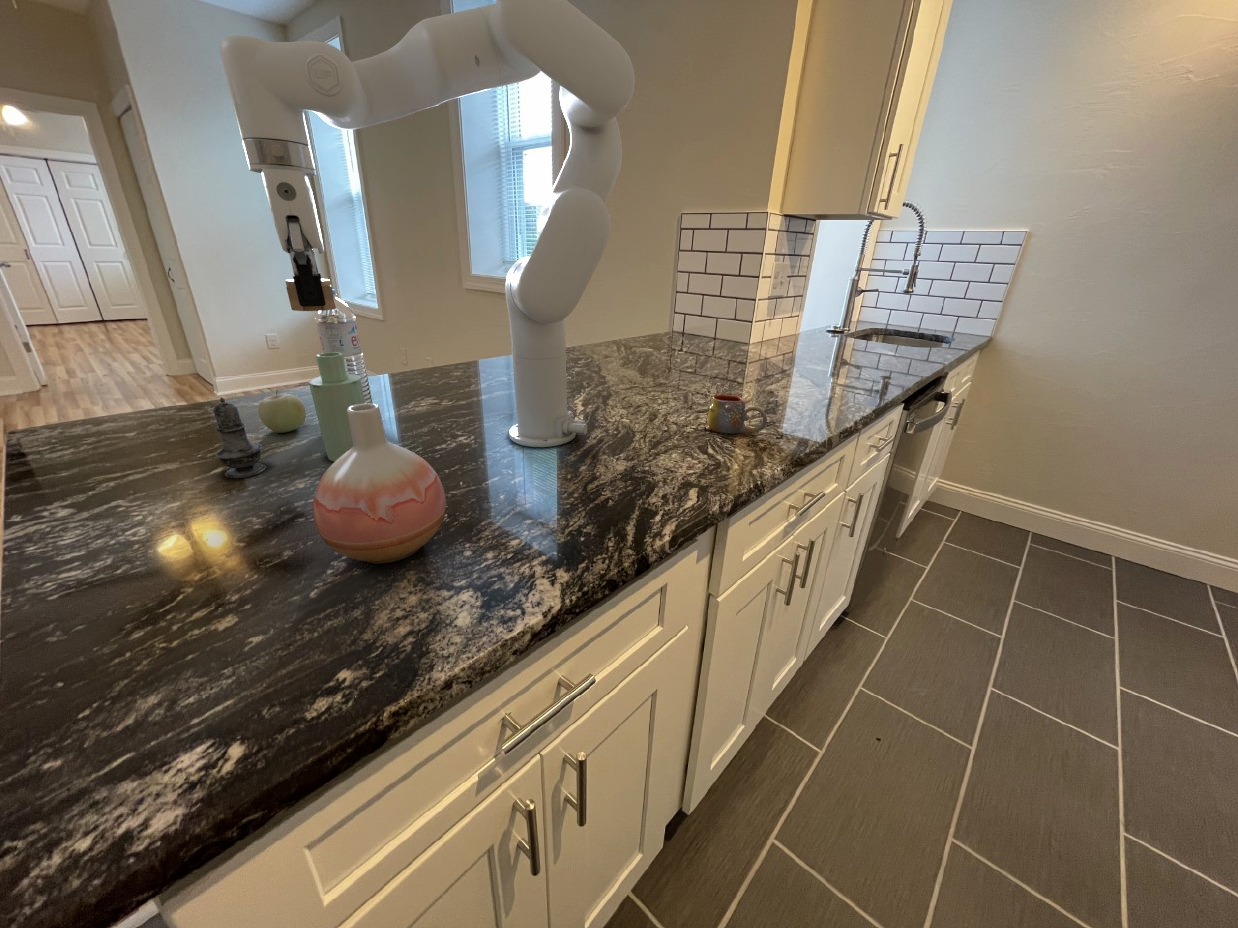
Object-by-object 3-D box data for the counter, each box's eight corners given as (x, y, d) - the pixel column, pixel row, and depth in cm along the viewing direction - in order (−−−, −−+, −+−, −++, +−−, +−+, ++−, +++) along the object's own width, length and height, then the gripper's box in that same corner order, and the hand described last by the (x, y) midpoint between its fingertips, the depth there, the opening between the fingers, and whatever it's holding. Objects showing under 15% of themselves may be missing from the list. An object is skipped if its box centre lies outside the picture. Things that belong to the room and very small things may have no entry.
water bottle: (360, 425, 96) (331, 292, 85) (330, 422, 97) (298, 290, 86) (382, 414, 102) (358, 288, 91) (354, 411, 103) (326, 287, 93)
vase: (358, 602, 49) (317, 441, 42) (307, 549, 57) (265, 407, 50) (474, 545, 59) (457, 407, 51) (416, 507, 67) (394, 382, 59)
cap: (344, 307, 73) (338, 279, 72) (313, 312, 68) (306, 282, 67) (315, 305, 75) (308, 278, 73) (282, 309, 70) (275, 280, 68)
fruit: (316, 429, 93) (305, 389, 89) (272, 440, 88) (259, 397, 84) (301, 420, 97) (290, 381, 94) (258, 430, 92) (245, 389, 89)
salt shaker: (277, 466, 78) (255, 394, 73) (240, 481, 72) (214, 405, 67) (250, 461, 79) (227, 390, 74) (213, 475, 74) (185, 400, 69)
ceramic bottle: (384, 448, 85) (365, 352, 78) (352, 464, 79) (328, 361, 72) (351, 443, 87) (329, 348, 80) (317, 458, 81) (291, 357, 74)
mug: (700, 429, 98) (703, 397, 95) (717, 420, 102) (720, 390, 100) (755, 444, 91) (760, 410, 88) (770, 434, 95) (775, 402, 93)
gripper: (312, 155, 59) (344, 309, 66) (315, 170, 72) (341, 297, 80) (236, 148, 55) (279, 311, 63) (254, 165, 69) (287, 298, 76)
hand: (313, 302), depth 71 cm, fingers closed on cap, 5 cm apart
